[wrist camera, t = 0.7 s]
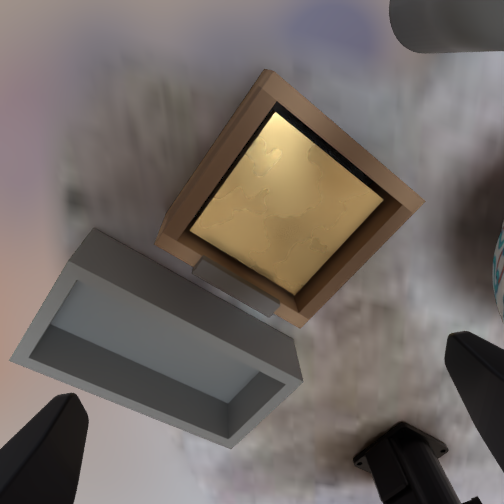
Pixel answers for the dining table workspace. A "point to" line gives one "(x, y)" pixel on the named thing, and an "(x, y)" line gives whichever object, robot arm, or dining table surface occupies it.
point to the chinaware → (499, 273)
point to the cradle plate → (284, 206)
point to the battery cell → (448, 25)
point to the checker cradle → (243, 277)
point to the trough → (158, 344)
